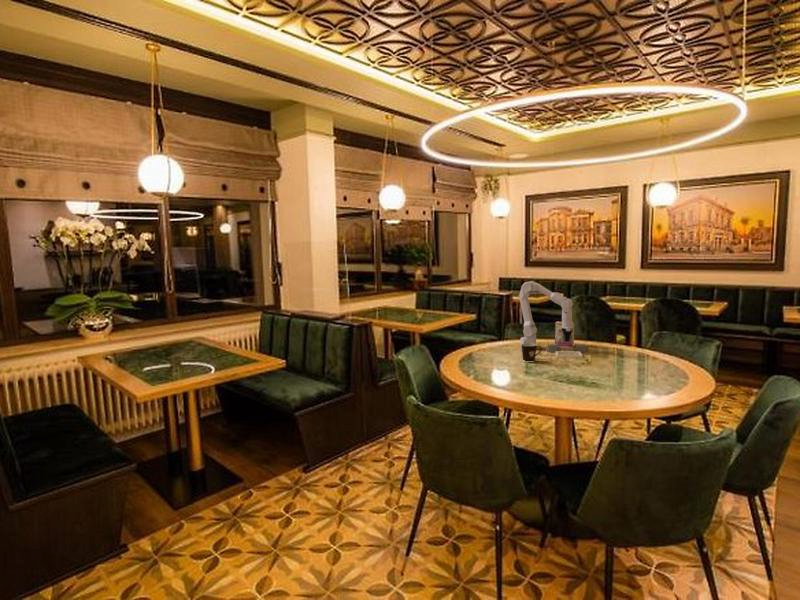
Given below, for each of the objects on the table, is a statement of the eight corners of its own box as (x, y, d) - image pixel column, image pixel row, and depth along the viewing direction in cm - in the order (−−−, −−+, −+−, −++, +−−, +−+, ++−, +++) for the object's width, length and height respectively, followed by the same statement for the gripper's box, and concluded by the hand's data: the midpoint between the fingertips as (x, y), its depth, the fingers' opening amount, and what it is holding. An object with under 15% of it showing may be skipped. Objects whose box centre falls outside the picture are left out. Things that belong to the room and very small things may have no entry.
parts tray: (579, 355, 281) (579, 351, 280) (582, 359, 271) (582, 355, 271) (555, 355, 284) (555, 351, 283) (557, 359, 274) (557, 354, 274)
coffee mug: (521, 363, 267) (521, 346, 266) (521, 359, 276) (521, 342, 275) (542, 363, 265) (542, 346, 264) (541, 360, 273) (541, 343, 272)
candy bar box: (554, 347, 305) (554, 322, 303) (556, 345, 309) (556, 321, 307) (572, 348, 299) (572, 323, 297) (574, 347, 303) (574, 322, 301)
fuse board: (587, 352, 287) (587, 346, 286) (589, 355, 281) (589, 348, 280) (545, 352, 292) (545, 346, 292) (545, 354, 286) (545, 348, 286)
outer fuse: (585, 351, 286) (585, 344, 285) (586, 353, 282) (586, 345, 281) (574, 351, 287) (574, 344, 287) (575, 352, 283) (575, 345, 283)
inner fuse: (557, 351, 289) (557, 344, 289) (558, 352, 286) (558, 345, 285) (547, 351, 291) (547, 343, 290) (548, 352, 287) (548, 345, 286)
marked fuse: (571, 341, 287) (571, 334, 286) (572, 343, 283) (572, 335, 282) (561, 341, 288) (561, 334, 288) (561, 342, 284) (562, 335, 284)
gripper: (575, 320, 276) (575, 343, 278) (572, 317, 290) (572, 338, 292) (563, 320, 278) (562, 343, 279) (560, 317, 292) (560, 338, 293)
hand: (566, 340), depth 286 cm, fingers closed on marked fuse, 4 cm apart
